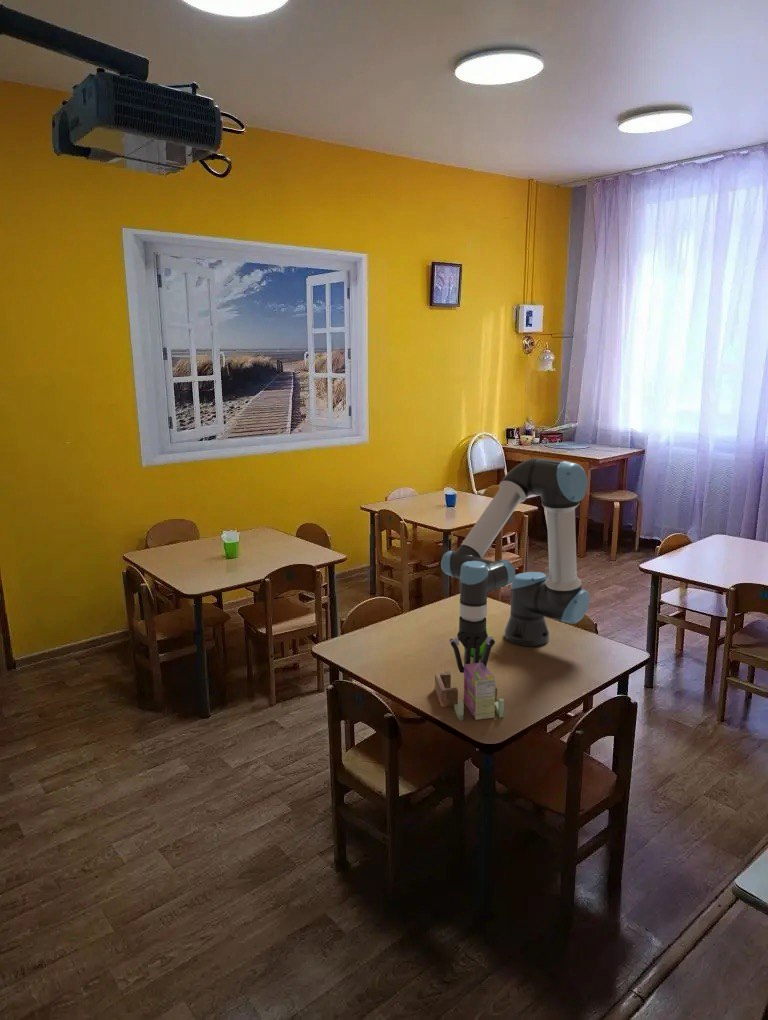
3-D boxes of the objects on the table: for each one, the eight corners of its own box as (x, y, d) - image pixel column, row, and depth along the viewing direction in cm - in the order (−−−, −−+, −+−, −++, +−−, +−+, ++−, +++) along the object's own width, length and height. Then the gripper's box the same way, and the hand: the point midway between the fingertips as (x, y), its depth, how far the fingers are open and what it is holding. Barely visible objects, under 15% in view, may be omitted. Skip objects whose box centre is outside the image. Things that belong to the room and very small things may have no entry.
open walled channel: (485, 684, 206) (486, 669, 205) (496, 704, 194) (497, 688, 193) (434, 687, 204) (434, 672, 203) (442, 708, 193) (442, 691, 192)
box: (463, 702, 196) (463, 663, 193) (482, 700, 197) (483, 661, 194) (474, 720, 186) (475, 680, 183) (494, 718, 187) (496, 678, 184)
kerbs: (497, 706, 193) (498, 690, 192) (503, 717, 188) (504, 700, 186) (454, 709, 192) (454, 692, 191) (459, 720, 186) (459, 703, 185)
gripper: (492, 610, 197) (489, 686, 202) (447, 612, 195) (446, 688, 201) (499, 620, 189) (496, 698, 195) (452, 622, 188) (451, 701, 193)
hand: (470, 693), depth 198 cm, fingers closed
